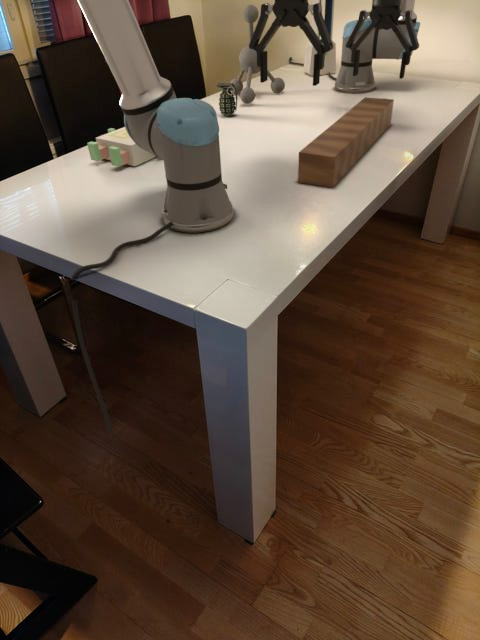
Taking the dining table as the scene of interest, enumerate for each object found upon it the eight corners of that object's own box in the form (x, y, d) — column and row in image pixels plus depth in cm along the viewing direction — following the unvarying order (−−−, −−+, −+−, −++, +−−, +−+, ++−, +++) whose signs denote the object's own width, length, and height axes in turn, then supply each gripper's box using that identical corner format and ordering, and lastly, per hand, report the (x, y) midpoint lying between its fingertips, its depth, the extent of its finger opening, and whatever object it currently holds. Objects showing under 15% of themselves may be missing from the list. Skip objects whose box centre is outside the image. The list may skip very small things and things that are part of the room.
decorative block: (141, 114, 152) (190, 122, 142) (145, 135, 156) (192, 145, 146) (76, 138, 136) (126, 149, 126) (82, 160, 140) (130, 173, 130)
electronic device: (309, 76, 211) (312, -7, 192) (303, 73, 216) (305, -8, 198) (336, 73, 213) (341, -10, 194) (329, 70, 219) (333, -11, 200)
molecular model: (298, 98, 182) (300, 3, 164) (243, 107, 176) (239, 9, 158) (272, 86, 199) (271, -1, 181) (221, 93, 194) (215, 4, 175)
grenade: (217, 117, 168) (214, 86, 162) (221, 112, 172) (219, 82, 166) (235, 117, 166) (233, 86, 160) (239, 113, 171) (238, 82, 165)
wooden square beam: (332, 187, 117) (334, 156, 112) (297, 182, 120) (298, 152, 116) (390, 124, 153) (393, 99, 148) (362, 122, 156) (365, 97, 152)
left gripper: (352, -26, 104) (343, 82, 117) (246, -23, 113) (249, 76, 126) (342, -24, 99) (334, 89, 112) (232, -21, 108) (237, 83, 121)
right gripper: (439, -14, 127) (424, 76, 140) (347, -12, 137) (341, 71, 150) (434, -11, 122) (419, 81, 135) (338, -10, 132) (332, 76, 145)
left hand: (289, 83), depth 119 cm, fingers open, 13 cm apart
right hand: (378, 76), depth 142 cm, fingers open, 13 cm apart
